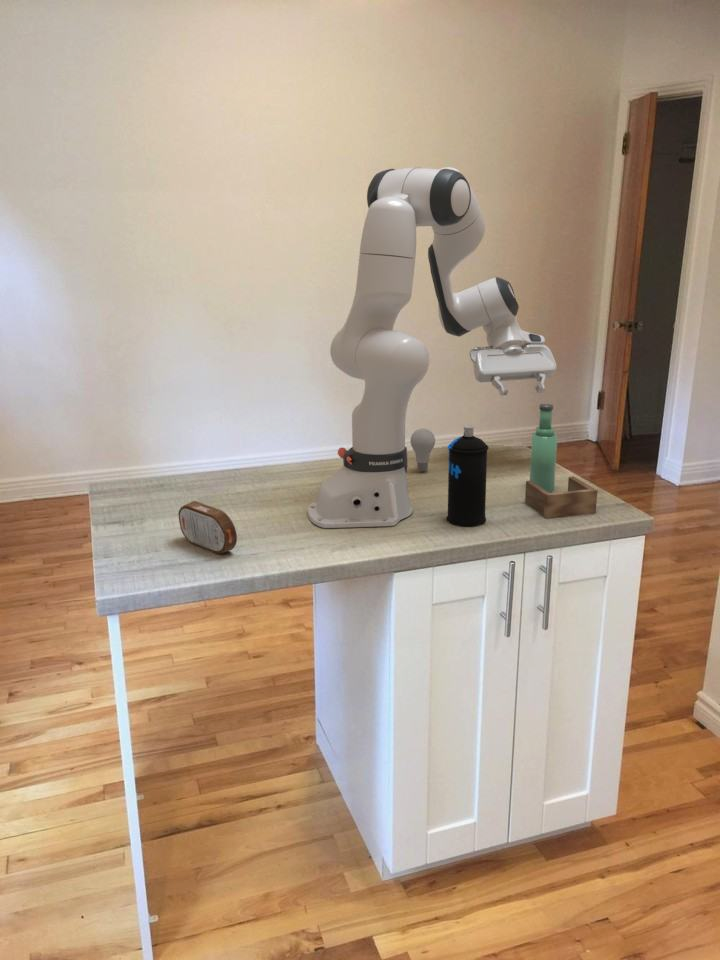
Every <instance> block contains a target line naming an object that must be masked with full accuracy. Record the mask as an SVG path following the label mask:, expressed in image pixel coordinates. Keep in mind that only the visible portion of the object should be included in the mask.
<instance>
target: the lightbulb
mask: <svg viewBox="0 0 720 960" xmlns="http://www.w3.org/2000/svg"><path fill="white" fill-rule="evenodd" d="M435 445H436V437H435V434H434V433H433V432H432V431H431V430H429V429H428V428H418V429H416V430H415V431H414V432H413V433H412V434H411V436H410V446H411V447H412V450H413V452H414V454H415V460H416V464H417V465H416V466H417V467H416V468H417V470H418V471H420V472H421V473H424V472H425V471H427V470H428V467H429V466H428V465H429V461H430V456H431V453H432V451H433V449H434V447H435Z"/></svg>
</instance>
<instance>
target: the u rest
mask: <svg viewBox="0 0 720 960" xmlns="http://www.w3.org/2000/svg"><path fill="white" fill-rule="evenodd" d="M524 495H525V496H524V497H525V498H524V503H525V504H526V505H528V507H530V508H532V510H535V511H536V512H537V513H538V514H540V515H541V516H543V518H545V519H550V518H551V517H553V518H560V517H559V516H562V517H569V515H571V516H580V514H581V515H588V513H590V514H596V513H597V502H598V499H597V498H598V490H597V489H596V488H594V487H592V486H590V485H589V484H587V483H585V482H584V481H582V480H581V479H578V478H577V477H575V476H574V475H573V476H569V477H568V481H567V491H558V492H550V493H549V492H548V491H546V490H545V489H543V488H542V487H540V486H539V485H537V484H536V483H534V482H533V481H530V480H526V481H525V493H524ZM551 519H552V518H551Z"/></svg>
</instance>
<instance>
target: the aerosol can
mask: <svg viewBox="0 0 720 960" xmlns="http://www.w3.org/2000/svg"><path fill="white" fill-rule="evenodd" d="M463 431H464V432H463V435H462V436H459V437H457V438H455V439H453V441H451V443H448V445H447V450H448V480H447V481H448V483H447V516H446V518H445V519H446V521H447V522H448V523H449V524H451V525H452V526H457V527H465V528H467V527H469V528H470V527H471V528H472V527H478V525H479V526H481V525H483V524H485V523H486V521H487V518H486V501H487V499H486V498H487V468H488V467H487V465H488V450H489V445H488V444H486V442H485V441H484V440H483V439H481V438H480V437H476V436H474V426H473V425H463Z"/></svg>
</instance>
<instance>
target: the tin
mask: <svg viewBox="0 0 720 960" xmlns="http://www.w3.org/2000/svg"><path fill="white" fill-rule="evenodd" d="M178 522H179V527H180V528H179V529H180V530H181V533H182V534H183V536H184V537H185V539H186V540H187V542H189V543H191V544H192V543H193V545H194V544H195V545H194V546H198V547H199V546H200V548H202V547H203V548H202V549H204V548H205V550H206V551H210V552H211V551H212V553H214V554H217V555H220V554H224V553H226V552H228V551H232V550H233V549H235V547H236V545H237V542H238V541H237V540H238V535H237V530H236V528H235V527H236V526H235V524H234V522H233V520H232V518H231V517H230V516H229V515H228V514H227V513H226V512H225V511H223V510H222V509H220V508H216V507H214V506H210V505H208V504H205V503H202V502H200V501H197V500H194V501H191V502H189V503H187V504H184V505H183V506H181V507H180V509H179V511H178Z"/></svg>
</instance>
